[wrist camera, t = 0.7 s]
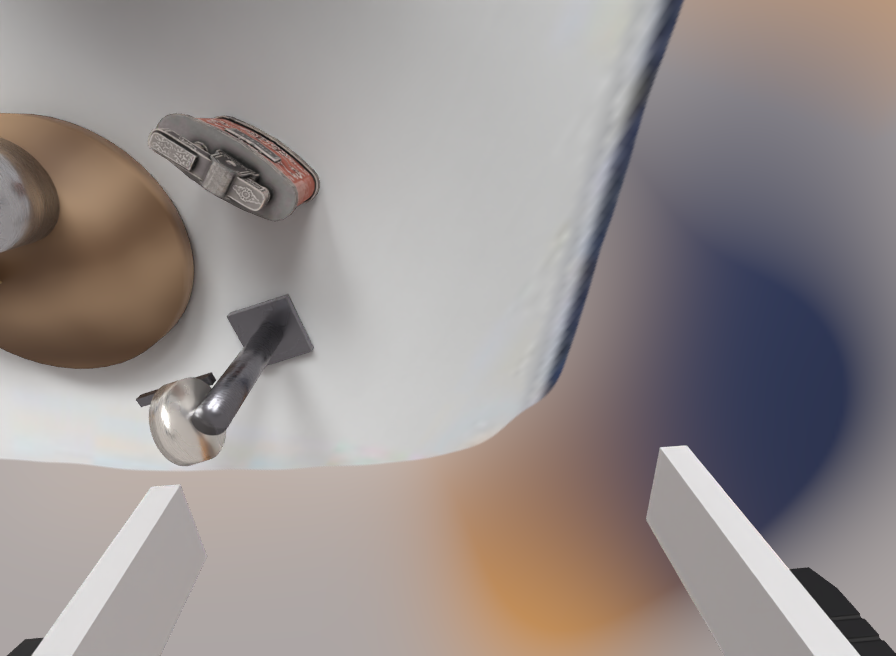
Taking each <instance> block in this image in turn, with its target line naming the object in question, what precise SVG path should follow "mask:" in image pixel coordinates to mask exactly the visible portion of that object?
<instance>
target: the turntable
mask: <svg viewBox="0 0 896 656" xmlns="http://www.w3.org/2000/svg"><path fill="white" fill-rule="evenodd" d="M0 137H1V138H3V139H6V140H8V141H10V142H12V143H14V144H16V145H18V146H20V147H21V148H23V149H24V150H26V151H27V152H28V153H29V154H31V155H32V156H33V157H34V158H35V159H36V160H37V161H38V162H39V163H40V164H41V165H42V166H43V167H44V169H45V170H46V171H47V173H48V174H49V176H50V178H51V179H52V181H53V183H54V185H55V188H56V190H57V194H58V197H59V204H60V211H59V218H58V221H57V223H56V225H55V227H54V229H53V230H52V231H51V233H49V234H48V235H47V236H46V237H44V238H43V239H41V240H39V241H37V242H34V243H30V244H27V245H24V246H21V247H17V248H14V249H11V250H8V251H4V252H1V253H0V348H1V349H3V350H5V351H7V352H10V353H12V354H15V355H17V356H20V357H22V358H25V359H28V360H31V361H35V362H38V363H41V364H46V365H51V366H56V367H64V368H74V369H90V368H99V367H107V366H111V365H115V364H119V363H122V362H125V361H127V360H130V359H132V358H134V357H136V356H138V355H140V354H141V353H143V352H145V351H146V350H148V349H149V348H150V347H151V346H153V345H154V344H155V343H156V342H158V341H159V340H160V339H161V338H162V337H163V336H165V335H166V334H167V333H168V332H169V331H170V330H171V329H172V328H173V327H174V326H175V325H176V323H177V322H178V321H179V319H180V318H181V316H182V314H183V313H184V311H185V309H186V306H187V304H188V302H189V299H190V295H191V291H192V287H193V276H194V266H193V255H192V250H191V245H190V241H189V238H188V235H187V232H186V229H185V226H184V224H183V222H182V220H181V218H180V216H179V214H178V211H177V210H176V208H175V206H174V205H173V203H172V202H171V200H170V198H169V197H168V195H167V194H166V193H165V191H164V190H163V189H162V187H161V186H160V185H159V184H158V182H157V181H156V180H155V179H154V178H153V177H152V176H151V175H150V174H149V173H148V171H147V170H146V169H145V168H144V167H143V166H142V165H141V164H139V163H138V162H137V161H136V160H135V159H133V158H132V157H131V156H130V155H129V154H127V153H126V152H125V151H123V150H122V149H121V148H119V147H118V146H116V145H115V144H113V143H112V142H110V141H109V140H107V139H105V138H103V137H101V136H99V135H98V134H96V133H94V132H92V131H90V130H88V129H85V128H83V127H80V126H78V125H75V124H73V123H70V122H67V121H63V120H60V119H56V118H53V117H47V116H41V115H35V114H10V113H0Z"/></svg>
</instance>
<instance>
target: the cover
mask: <svg viewBox="0 0 896 656" xmlns="http://www.w3.org/2000/svg"><path fill="white" fill-rule="evenodd" d="M59 211H60V204H59V197H58V194H57V190H56V188H55V185H54V183H53V181H52V179H51V178H50V176H49V174H48V173H47V171H46V170H45V169H44V167H43V166H42V165H41V164H40V163H39V162H38V161H37V160H36V159H35V158H34V157H33V156H32V155H31V154H29V153H28V152H27V151H26V150H24V149H23V148H21V147H20V146H18V145H16V144H14V143H12V142H10V141H8V140H6V139H3V138H1V137H0V253H1V252H4V251H8V250H11V249H14V248H17V247H21V246H24V245H27V244H30V243H34V242H37V241H39V240H41V239H43V238H44V237H46V236H47V235H48V234H49V233H51V231H52V230H53V229H54V227H55V225H56V223H57V221H58V218H59Z"/></svg>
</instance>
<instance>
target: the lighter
mask: <svg viewBox="0 0 896 656" xmlns="http://www.w3.org/2000/svg"><path fill="white" fill-rule="evenodd" d="M147 142H148V146H149V147H150V149H152V150H153V151H154V152H156V153H158V154H159V155H161V156H162V157H164V158H166V159H167V160H169V161H170V162H171V163H172V164H174V165H175V166H176V167H177V168H178V169H179V170H181V171H182V172H183V173H184V174H185V175H187V176H188V177H189V178H190V179H192V180H193V181H195V182H196V183H198V184H199V185H201V186H202V187H204V188H205V189H206V190H208V191H209V192H211V193H212V194H214V195H215V196H217V197H219V198H221V199H223V200H225V201H227V202H229V203H231V204H233V205H234V206H236V207H238V208H240V209H242V210H244V211H247V212H250V213H252V214H255V215H257V216H260V217H262V218H265V219H267V220H271V221H279V220H283V219H285V218H286V217H288V216H289V215H291V214H292V213H293V211H294V210H295V209H296V207H297V206H298V205H300V204H303V203H307V202H308V201H310V200H312V199H313V198H314V197H315V196H316V195H317V193H318V191H319V188H320V180H319V177H318V175H317V173H316V172H315V171H314V170H313V169H312V168H311V167H310V166H309V165H308V164H307V163H306V162H305V161H304V160H303V159H302V158H300V157H299V156H298V155H297V154H296V153H295V152H293V151H292V150H291V149H289V148H288V147H287V146H285V145H284V144H283V143H281V142H280V141H279V140H277V139H276V138H274V137H272V136H270V135H269V134H267V133H265V132H263V131H262V130H260V129H258V128H256V127H254V126H252V125H250V124H248V123H245V122H243V121H241V120H238V119H236V118H234V117H230V116H218V117H215V118H214V119H211V118H194V117H192V116H190V115H185V114H177V113H175V114H170V115H167V116H165V117H164V118H162V119H161V121H160V122H159V124H158V125H157V128H156V129H153V130H152V131H151V133H150V135H149V137H148V141H147Z"/></svg>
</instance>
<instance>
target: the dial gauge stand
mask: <svg viewBox="0 0 896 656" xmlns="http://www.w3.org/2000/svg"><path fill="white" fill-rule="evenodd" d="M227 318H228V320H229V321H230V323H231V325H232V327H233V329H234V330H235V332H236V334H237V336H238V337H239V339H240V341H241V343H242V345H243V346H244V348H243V349H242V350H241V352H240V353H239V354H238V356H237V357H236V358H235V359H234V361H233V362H232V363H231V365H230V366H229V367H228V369H227V370H226V371H225V372H224V374H223V375H222V376H221V378H220V379H219V380H218V381H217V383H216V384H215V385H214V387H213V388H211V387H210V385H213V383H214V382H215V381H216V379H215V377H214V376H213V374H212V372H211V373H208V374H205V375H202V376H199V377H195V378H193V377H189V378H185V379H181V380H178V381H175V382H172V383H169V384H166V385H164V386H162V387H161V388H159V389H157V390H154V391H151V392H148V393H145V394H141V395H140V396H139V397H138V398H137V399H136V401H137V402H138V403H139V405H140V406H141V407H143V406H146V405H150V409H149V424H150V430H151V433H152V437H153V439H154V442H155V444H156V446H157V447H158V449H159V450H160V452H161V453H162V454H163V455H164V456H165V457H166V458H167V459H168V460H169V461H171V462H172V463H174V464H176V465H179V466H190V465H193V464H197V463H200V462H203V461H207V460H210V459H212V458H214V457H215V456H216V455H217V454H218V453H219V452H220V451H221V449H222V447H223V444H224V441H225V436H226V429H227V427H228V426H229V424H230V423H231V421H232V419H233V418H234V416H235V415H236V413H237V411H238V410H239V408H240V406H241V405H242V403H243V402H244V400H245V398H246V397H247V395H248V394H249V392H250V390H251V389H252V387H253V386H254V384H255V382H256V381H257V379H258V378H259V376H260V374H261V373H262V371H263V369H264V368H265V366H267V365H270V364H273V363H276V362H279V361H282V360H286V359H289V358H292V357H295V356H298V355H302V354H305V353H308V352H311V351H312V350H313V348H314V347H313V345H312V343H311V340H310V338H309V336H308V334H307V332H306V330H305V328H304V326H303V324H302V322H301V320H300V318H299V316H298V314H297V312H296V310H295V308H294V306H293V303H292V301H291V299H290V297H289V295H288V294H287V295H284V296H281V297H278V298H275V299H272V300H268V301H265V302H262V303H259V304H256V305H253V306H250V307H247V308H244V309H241V310H237V311H234V312H231V313H230V314H229V315H228V316H227Z"/></svg>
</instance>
